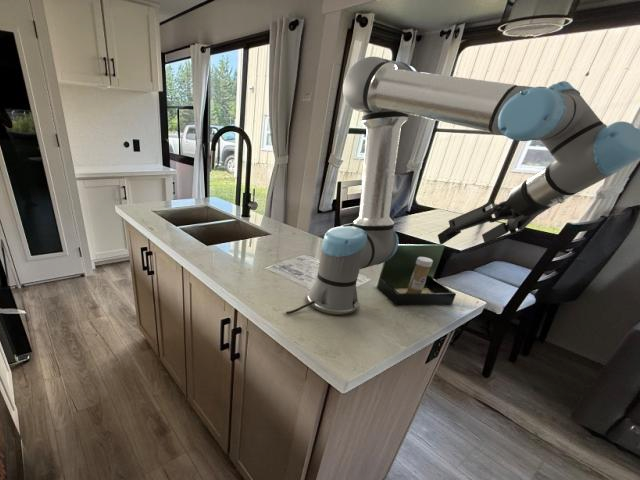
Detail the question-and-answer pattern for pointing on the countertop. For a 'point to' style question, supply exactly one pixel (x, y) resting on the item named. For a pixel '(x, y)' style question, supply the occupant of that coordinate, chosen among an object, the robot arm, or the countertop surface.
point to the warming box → (400, 272)
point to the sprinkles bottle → (419, 275)
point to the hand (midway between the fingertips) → (462, 239)
